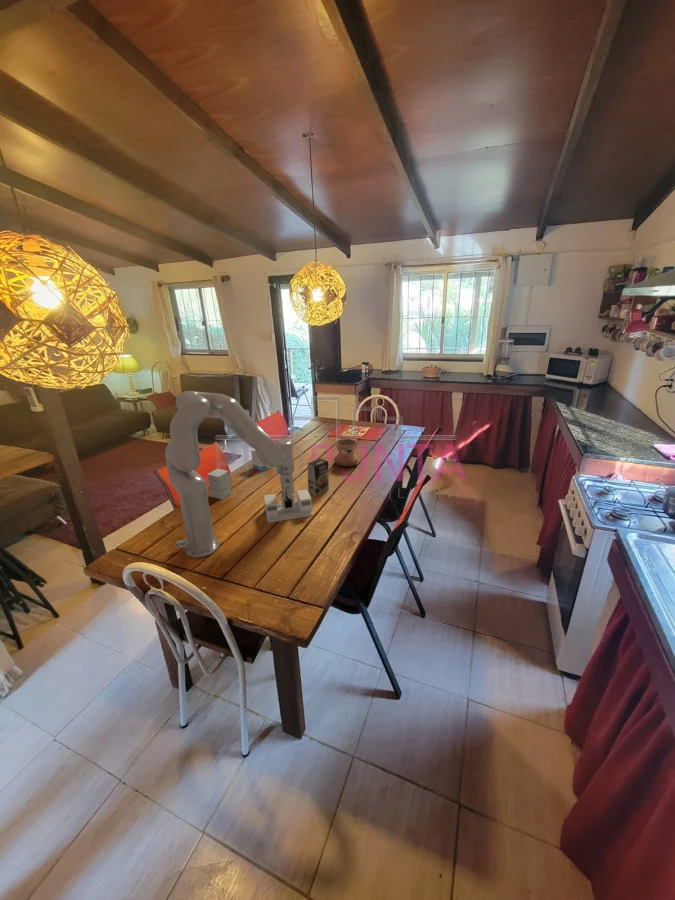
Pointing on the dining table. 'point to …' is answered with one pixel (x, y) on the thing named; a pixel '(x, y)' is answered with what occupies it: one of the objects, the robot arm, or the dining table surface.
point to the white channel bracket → (300, 509)
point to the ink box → (259, 462)
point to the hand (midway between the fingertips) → (287, 504)
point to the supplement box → (219, 483)
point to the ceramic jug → (346, 452)
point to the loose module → (284, 501)
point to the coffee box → (318, 476)
